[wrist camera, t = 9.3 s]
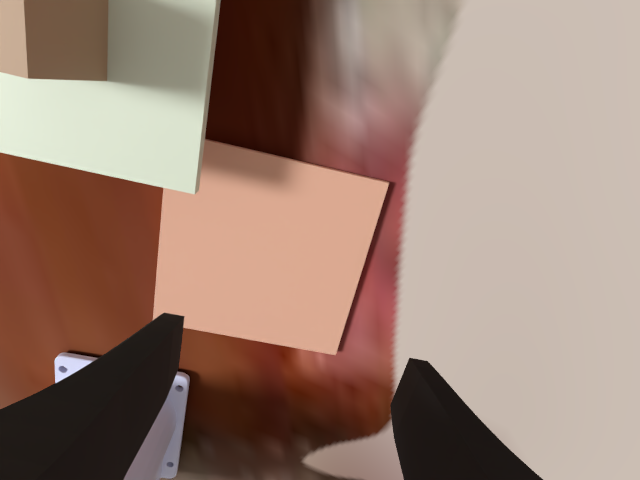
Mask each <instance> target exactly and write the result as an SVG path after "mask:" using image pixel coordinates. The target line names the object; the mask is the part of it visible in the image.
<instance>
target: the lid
mask: <svg viewBox="0 0 640 480" xmlns="http://www.w3.org/2000/svg"><path fill="white" fill-rule="evenodd" d="M220 3H221V0H0V152H1V153H6V154H11V155H15V156H20V157H24V158H29V159H34V160H38V161H43V162H47V163H52V164H57V165H61V166H66V167H70V168H75V169H80V170H84V171H89V172H94V173H98V174H103V175H107V176H112V177H117V178H121V179H126V180H130V181H135V182H140V183H144V184H149V185H153V186H158V187H163V188H167V189H172V190H177V191H181V192H186V193H190V194H196V193H197V192H198V191H199V185H200V176H201V168H202V159H203V150H204V142H205V133H206V124H207V116H208V107H209V98H210V90H211V81H212V72H213V64H214V55H215V46H216V37H217V29H218V20H219V11H220Z"/></svg>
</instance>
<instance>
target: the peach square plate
mask: <svg viewBox="0 0 640 480" xmlns="http://www.w3.org/2000/svg"><path fill="white" fill-rule="evenodd" d="M388 185H389V182H388V181H384V180H380V179H375V178H371V177H367V176H363V175H358V174H354V173H350V172H346V171H341V170H337V169H333V168H328V167H324V166H320V165H316V164H311V163H307V162H303V161H298V160H294V159H290V158H286V157H281V156H277V155H273V154H269V153H264V152H260V151H256V150H251V149H247V148H243V147H239V146H234V145H230V144H226V143H222V142H217V141H213V140H209V139H205V142H204V150H203V159H202V168H201V176H200V185H199V191H198V192H197V193H196V194H190V193H186V192H181V191H177V190H172V189H167V188H163V200H162V213H161V225H160V238H159V250H158V263H157V275H156V288H155V300H154V313H153V320H154V319H155V318H157V317H158V316H160V315H161V314H163V313H170V314H175V315H180V316H185V317H184V325H183V328H189V329H194V330H200V331H205V332H211V333H216V334H222V335H227V336H233V337H238V338H244V339H249V340H255V341H260V342H266V343H271V344H277V345H282V346H288V347H293V348H299V349H304V350H310V351H315V352H321V353H326V354H332V355H336V352H337V349H338V346H339V343H340V340H341V336H342V333H343V330H344V327H345V323H346V320H347V317H348V314H349V311H350V307H351V304H352V301H353V298H354V295H355V291H356V288H357V285H358V282H359V279H360V275H361V272H362V269H363V266H364V262H365V259H366V256H367V253H368V250H369V246H370V243H371V240H372V237H373V234H374V230H375V227H376V224H377V221H378V217H379V214H380V211H381V208H382V205H383V201H384V198H385V195H386V192H387V189H388Z"/></svg>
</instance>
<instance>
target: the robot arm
mask: <svg viewBox="0 0 640 480" xmlns="http://www.w3.org/2000/svg"><path fill="white" fill-rule="evenodd" d="M184 317H185V316H180V315H175V314H170V313H163V314H161V315H160V316H158V317H157V318H155V319H154V320H153V321H151V322H150V323H149V324H147V325H146V326H145V327H143V328H142V329H140V330H139V331H138V332H136V333H135V334H133V335H132V336H131V337H129V338H128V339H126V340H125V341H123V342H122V343H120V344H119V345H118V346H116V347H115V348H113V349H112V350H110V351H109V352H107V353H106V354H104V355H103V356H101V357H99V358H95V357H89V356H83V355H77V354H72V353H60V354H59V355H58V356H57V357H56V358H55V384H53V385H51V386H49V387H47V388H45V389H43V390H42V391H40V392H38V393H36V394H33V395H31V396H29V397H27V398H25V399H23V400H20V401H18V402H16V403H14V404H11V405H9V406H7V407H5V408H3V409H0V480H159V479H160V477H161V478H168V479H171V478H174V477H175V476H176V474H177V471H178V465H179V457H180V450H181V442H182V435H183V427H184V420H185V412H186V405H187V397H188V390H189V382H190V377H189V376H188V375H187V374H186V373H183V372H178V368H179V360H180V351H181V343H182V334H183V325H184ZM65 367H66V368H65ZM178 385H180V386H182V387H179V386H178ZM391 415H392V425H393V433H394V439H395V443H396V448H397V452H398V456H399V460H400V465H401V469H402V473H403V477H404V480H543V479H542V478H540V477H539V476H538V475H537V474H536V473H535V472H534V471H532V470H531V469H530V468H529V467H528V466H527V465H526V464H525V463H524V462H523V461H521V460H520V459H519V458H518V457H517V456H516V455H515V454H514V453H513V452H511V451H510V450H509V449H508V448H507V447H506V446H505V445H504V444H503V443H502V442H501V441H500V440H499V439H498V438H497V437H496V436H495V435H494V434H493V433H492V432H491V431H490V430H489V429H488V428H487V427H486V425H485V424H484V423H483V422H482V421H481V420H480V419H479V418H478V417H477V416H476V415H475V414H474V413H473V411H472V410H471V409H470V408H469V407H468V406H467V405H466V404H465V403H464V402H463V401H462V399H461V398H460V397H459V396H458V395H457V394H456V392H455V391H454V390H453V389H452V388H451V387H450V386H449V384H448V383H447V382H446V381H445V380H444V379H443V378H442V377H441V376H440V374H439V373H438V372H437V371H436V370H435V369H434V368H433V367H432V365H430V363H428V361H423V360H418V359H413V358H409V361H408V363H407V365H406V368H405V370H404V373H403V375H402V378H401V380H400V383H399V385H398V388H397V390H396V393H395V395H394V398H393V400H392V403H391Z"/></svg>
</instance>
